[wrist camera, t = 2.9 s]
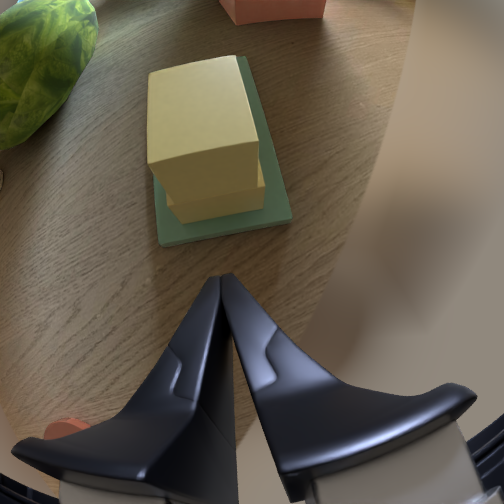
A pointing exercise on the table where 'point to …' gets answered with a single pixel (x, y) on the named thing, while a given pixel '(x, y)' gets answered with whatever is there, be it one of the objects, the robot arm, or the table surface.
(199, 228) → the butter dish
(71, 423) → the reddish brown disc
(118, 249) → the table surface
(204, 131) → the butter slab
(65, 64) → the lettuce
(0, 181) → the candle
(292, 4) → the house
